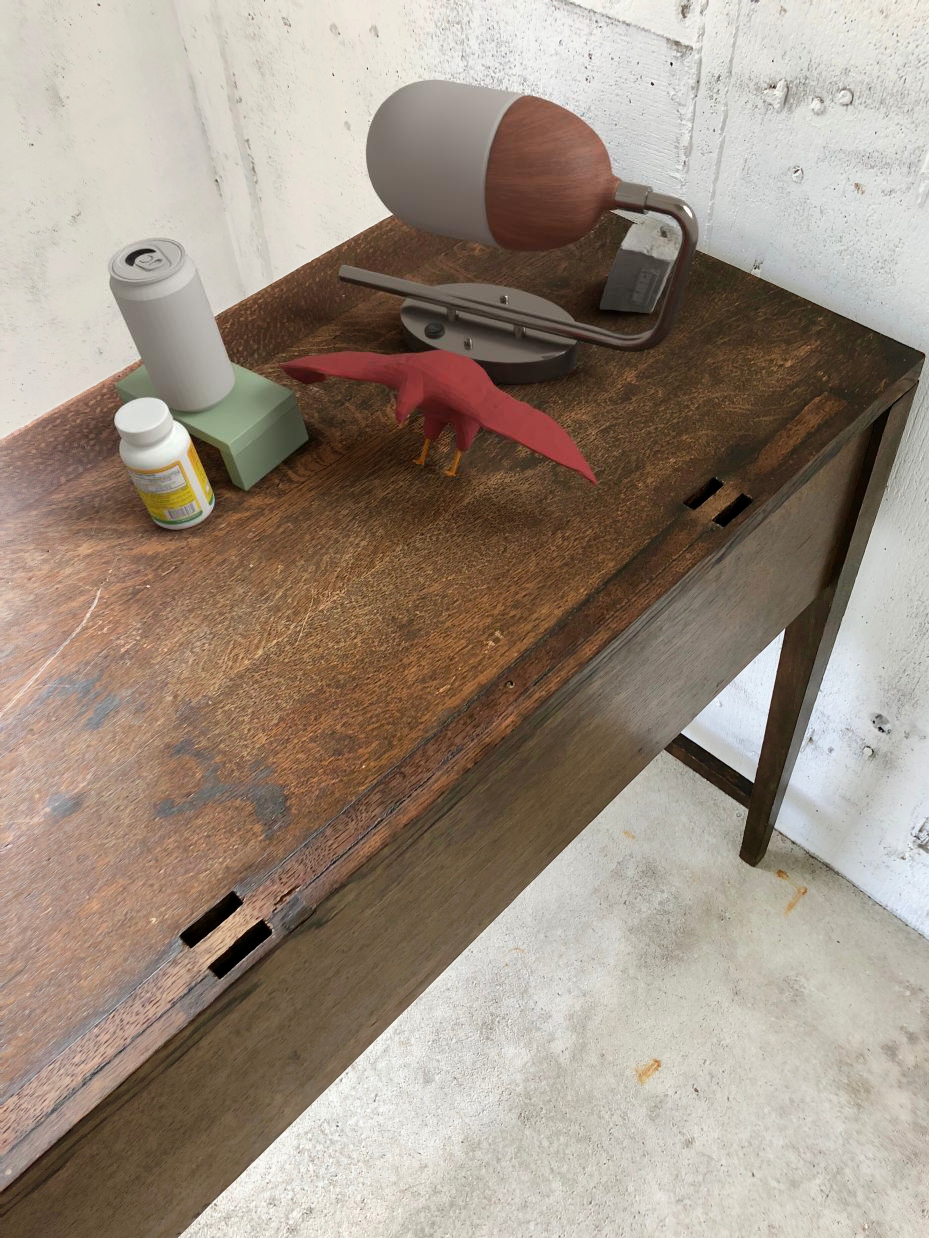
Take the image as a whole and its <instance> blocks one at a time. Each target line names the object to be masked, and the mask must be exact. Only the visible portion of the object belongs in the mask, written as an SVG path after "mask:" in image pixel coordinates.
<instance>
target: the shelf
mask: <svg viewBox="0 0 929 1238" xmlns="http://www.w3.org/2000/svg"><path fill="white" fill-rule="evenodd" d="M230 363H231V366H232V369H233V372H234V375H235V383H234V386H233V388H232V390H231V392H230V393H229V394H228V395H227V397H226V398H225V400H224V401H223V402H221V403H220V404H219V405H217V406H215V407H213V408H211V409H209V410H205V411H201V412H185V411H180V410H175V409H172V408H169V407H168V409H169V411H170V413H171V415H172V417H173V420H175V421H177V422H178V423H180V424H181V425H183V426H184V427H185V429H186V430H187V432H188V433H189V435H191V436H194V437H196V438H198V439H199V440H202V441H203V442H205V443H207V444H209V445H211V446H213V447H215V448H216V449H219V453H220V455H221V457H222V460H223V462H224V464H225V468H226V471H227V472H228V474H229V477H230V480H231V482H232V484H233V485H234V486H236V487H238V488H240V489H242V490H244V491H245V492H247V491H248V490H250V489H251V488H252V487H253V486H254V485H256V484H257V483H258V482H260V481H261V479H263V478H264V477H265V476H266V475H268V474H269V473H270V472H271V471H272V470H273V469H275V468H276V467H277V466H278V465H279V464H281V463H282V462H283V461H285V460H286V458H288V457H289V456H290V455H291V454H292V453H294V452H295V451H296V450H298V449H299V448H300V447H301V446H302V445H303V444H304V443H306V442H307V441H308V440H309V439H310V438H309V435H308V432H307V428H306V425H305V422H304V418H303V415H302V411H301V407H300V405H299V402H298V399H297V396H296V392H295V391H294V390H292V389H290V388H287V387H285V386H284V385H281V384H279V383H278V382H277V383H276V382H275V381H273V380H271V379H269V378H266V377H265V376H262V375H260V374H258V373H256V372H254V371H252V370H249V369H247V368H246V367H243V366H241V365H239V364H237V363H235V362H232V361H230ZM113 386H114V388H115V390H116V392H117V395H118V396H119V398H120V401H121V403H122V405H125V404H127V403H128V402H130V401H133V400H136V399H139V398H156V399H159V397H158V395H157V393H156V390H155V388H154V386H153V384H152V381H151V379H150V377H149V375H148V372H147V370H146V368H145V366H144V363H143V364H142V365H140V366H139V367H138V368H135V369H134V370H133V371H131V372H130V373H129V374H127V375H126V376H125V377H123V378H122V379H120V380H119V381H118V382H116V383H114V385H113ZM159 400H160V399H159Z"/></svg>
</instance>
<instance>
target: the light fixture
mask: <svg viewBox="0 0 929 1238" xmlns="http://www.w3.org/2000/svg"><path fill="white" fill-rule="evenodd" d="M365 144H366V145H365V163H366V169H367V175H368V178H369V181H370V183H371V186H372V188H373V190H374V192H375V193H376V196H377V197H378V199H379V200H380V201H381V203H382V204H383V206H384V207H385V208H386V209H387V210H388V211H389V212H390V213H391V214H392V215H393V216H394V217H396V218H397V219H398V220H399V221H401V222H402V223H404V224H406V225H407V226H410V227H412V228H414V229H416V230H419V231H422V232H425V233H429V234H434V235H438V236H442V237H447V238H451V239H455V240H460V241H464V242H469V243H474V244H478V245H483V246H485V247H486V246H487V247H490V248H491V247H492V248H496V249H504V250H507V251H511V252H542V251H543V252H544V251H550V250H556V249H560V248H563V247H566V246H568V245H569V246H570V245H571V244H574V243H576V242H578V241H580V240H582V239H583V238H584V237H586V236H587V235H589V233H590V232H592V231H593V230H594V229H595V228H596V226H597V225H598V224H599V222H600V221H601V219H602V218H603V216H604V214H605V213H606V212H611V211H617V210H618V211H623V212H629V213H634V214H638V215H644V216H646V215H648V214H649V212H653V213H656V214H660V215H664V216H668V217H671V218H672V219H673V220H675V221H676V223H677V224H678V226H679V228H680V232H681V233H682V242H681V245H680V249H679V252H678V255H677V258H676V260H675V261H674V264H673V270H672V272H671V276H670V280H669V282H668V286H667V288H666V292H665V295H664V298H663V301H662V305H661V308H660V310H659V313H658V316H657V319H656V321H655V323H654V324H653V325H652V326H651V327H650V328H648V329H647V330H645V331H643V332H639V333H621V332H617V331H613V330H609V329H606V328H601V327H597V326H595V325H591V324H588V323H587V324H586V323H583V322H579V321H575V319H574V317H572V315H570V314H569V313H568V312H567V311H566V310H565V309H563V308H562V307H560V306H559V305H557V304H556V303H554V302H553V301H550V300H548V299H546V298H543V297H541V296H538V295H536V294H533V293H530V292H527V291H524V290H521V289H517V288H512V287H509V286H502V285H497V284H496V285H495V284H488V283H477V282H455V283H447V284H438V285H434V286H432V285H428V284H425V283H419V282H416V281H412V280H408V279H405V278H401V277H395V276H392V275H388V274H384V273H380V272H375V271H372V270H367V269H362V268H359V267H355V266H350V265H347V264H342V265H341V266H340V268H339V270H338V278H339V281H340V282H343V283H347V284H350V285H354V286H358V287H363V288H367V289H370V290H375V291H378V292H382V293H386V294H390V295H394V296H397V297H402V298H406V299H405V301H403V303H402V305H401V307H400V312H399V313H400V314H399V316H400V321H401V325H402V326H401V327H402V333H403V337H404V342H405V343H406V345H407V347H408V348H409V350H410V351H412V353H421V352H427V351H433V350H446V351H451V352H455V353H457V354H460V355H462V356H468V357H470V358H471V359H472V360H474V361H475V362H476V363H477V364H478V365H479V366H481V367H482V368H483V369H484V370H485V372H486V373H487V375H488V377H489V378H490V379H491V381H492V382H493V384H502V385H525V384H526V385H527V384H535V383H542V382H543V383H544V382H546V381H551V380H554V379H556V378H559V377H561V376H563V375H566V374H567V373H569V372H570V371H571V370H573V368H574V367H575V366H576V365H577V363H578V362H579V358H580V343H585V344H590V345H594V346H597V347H602V348H606V349H610V350H615V351H620V352H623V353H624V352H625V353H641V352H646V351H650V350H651V349H654V348H656V347H657V346H659V345H660V344H661V343H663V341H664V340H665V339H666V338H667V337H668V335H669V334H670V332H671V331H672V329H673V327H674V324H675V321H676V319H677V315H678V311H679V308H680V306H681V302H682V299H683V295H684V291H685V290H686V289H685V288H686V285H687V282H688V278H689V276H690V271H691V268H692V266H693V261H694V258H695V254H696V250H697V246H698V242H699V237H700V236H699V235H700V234H699V233H700V232H699V231H700V230H699V221H698V217H697V215H696V213H695V211H694V209H693V208H692V206H690V204H689V203H687V202H686V201H685V200H683V199H681V198H679V197H675V196H671V195H668V194H665V193H661V192H660V193H659V192H656V191H654V188H653V186H651V185H645V184H641V183H635V182H630V181H624V180H623V179H622V178H621V177H618V176H617V175H615V174H614V173H613V168H612V161H611V158H610V154H609V151H608V149H607V147H606V145H605V143H604V142H603V140H602V138H601V137H600V136H599V134H598V133H597V132H596V131H595V130H594V129H593V128H592V127H591V126H590V125H589V123H587V122H586V121H585V120H583V119H582V118H581V117H580V116H578V115H577V114H576V113H574V112H572V111H571V110H569V109H568V108H565V107H563V106H561V105H560V104H557V103H556V102H553V101H550V100H548V99H545V98H542V97H539V96H535V95H530V94H525V93H522V92H516V91H512V90H511V91H510V90H504V89H498V88H493V87H486V86H480V85H475V84H470V83H469V84H468V83H463V82H457V81H451V80H445V79H424V80H418V81H414V82H412V83H408V84H406V85H404V86H402V87H400V88H398V89H397V90H395V91H394V92H393V93H391V94H390V95H389V96H388V97H387V98H386V99H385V100H384V101H383V102H382V103H381V104H380V106H378V109H377V110H376V112H375V113H374V115H373V118H372V120H371V123H370V125H369V127H368V131H367V137H366V143H365Z"/></svg>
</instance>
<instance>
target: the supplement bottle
mask: <svg viewBox="0 0 929 1238" xmlns="http://www.w3.org/2000/svg"><path fill="white" fill-rule="evenodd" d="M113 422H114V426H115V428H116V431H117V432H118V435H119V436H120V438H121V439H120V442H119V455H120V458H121V461H122V462H123V464H124V466H125V469H126V470H127V473H128V474H129V476H130V478H131V480H132V482H133V484H134V486H135V488H136V490H137V492H138V493H139V495H140V498H141V500H142V502H143V503H144V506H145V508H146V509H147V511H148V513H149V515H150V517H151V519H152V520H153V522H154V523H156V524H157V525H158V526H160V527H162V528H164V529H168V530H174V531H175V530H177V531H178V530H185V529H189V528H192V527H194V526H197V525H198V524H200V523H202V522H203V521H204V520H205V519H207V518H208V517H209V516H210V514H211V513H212V512H213V509H214V508H215V501H216V500H215V499H216V497H215V494H214V491H213V488H212V486H211V484H210V481H209V478H208V476H207V474H206V471H205V469H204V467H203V465H202V462H201V459H200V457H199V455H198V453H197V449H196V448H195V446H194V443H193V441H192V438H191V436H190V433H188V432H187V430H186V429H185V427H184V426H183V425H181V424H180V423H178V422H177V421H175V420H173V417H172V415H171V413H170V411H169V409H168V407H167V405H166V404H165V403H164V402H163V401H161V400H159V399H156V398H139V399H136V400H133V401H130V402H128V403H127V404H125V405H124V404H122V406H121V407H120V408H119V409H118V410H117V411H116V412H115V415H114V420H113Z"/></svg>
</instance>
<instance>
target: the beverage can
mask: <svg viewBox="0 0 929 1238" xmlns="http://www.w3.org/2000/svg"><path fill="white" fill-rule="evenodd" d="M107 271H108V274H109V276H110V277H109V281H108V282H109V289H110V292H111V294H112V295H113V298H114V300H115V303H116V304H117V307H118V309H119V311H120V313H121V316H122V318H123V320H124V322H125V323H124V324H125V325H126V327H127V330H128V332H129V335H130V336H131V338H132V340H133V343H134V345H135V347H136V350H137V352H138V355H139V356H140V359H141V361H142V363H143V364H144V366H145V368H146V370H147V372H148V375H149V377H150V379H151V381H152V384H153V386H154V388H155V390H156V393H157V395H158V397H159V399H160V400H161V401H163V402H164V403H165V404H166V405H167V407H169V408H172V409H175V410H180V411H185V412H201V411H205V410H209V409H211V408H213V407H215V406H217V405H219V404H220V403H221V402H223V401H224V400H225V398H226V397H227V395H228V394H229V393H230V392H231V390H232V388H233V386H234V383H235V375H234V372H233V369H232V366H231V363H230V362H231V361H230V358H229V355H228V353H227V349H226V347H225V344H224V341H223V338H222V335H221V332H220V330H219V327H218V324H217V321H216V319H215V316H214V312H213V310H212V307H211V305H210V304H211V303H210V302H209V299H208V298H209V297H208V295H207V293H206V290H205V288H204V287H205V286H204V285H203V282H202V279H201V275H200V273H199V270H198V268H197V265H196V262H195V261H194V259H193V258H192V257H191V256H189V255H188V253H187V252H186V250H185V247H184V246H183V244H182V243H180V242H179V241H177V240H175V239H171V238H167V237H150V238H145V239H144V238H143V239H141V240H140V239H139V240H138V241H134V242H131V243H129V244H126V245H124V246H123V247H121V248H120V249H118V250H117V251H116V252H114V254H113V255H112V256H111V257H110V259H109V260H108V262H107Z"/></svg>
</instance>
